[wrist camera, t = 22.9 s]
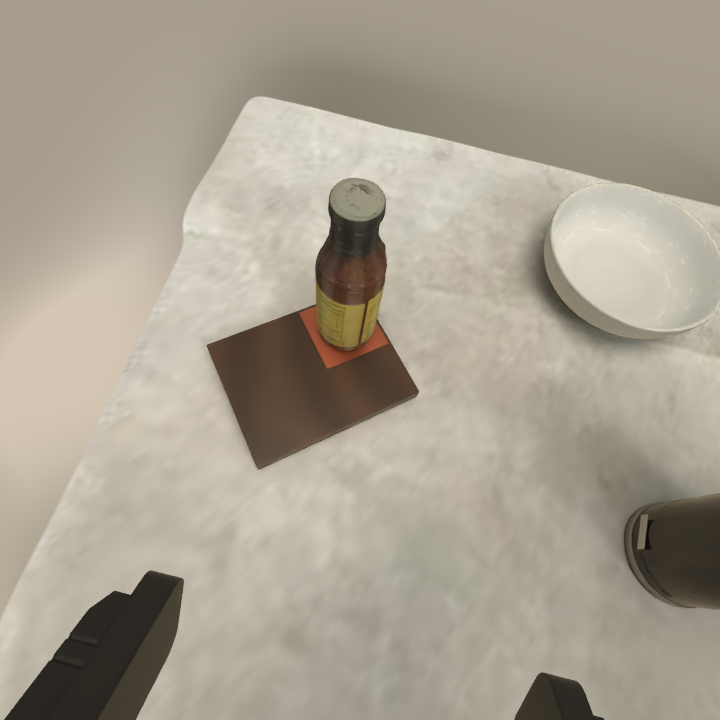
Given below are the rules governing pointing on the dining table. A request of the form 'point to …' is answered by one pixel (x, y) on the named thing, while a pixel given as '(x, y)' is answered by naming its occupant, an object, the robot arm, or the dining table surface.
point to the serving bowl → (632, 262)
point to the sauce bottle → (351, 265)
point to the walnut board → (305, 383)
